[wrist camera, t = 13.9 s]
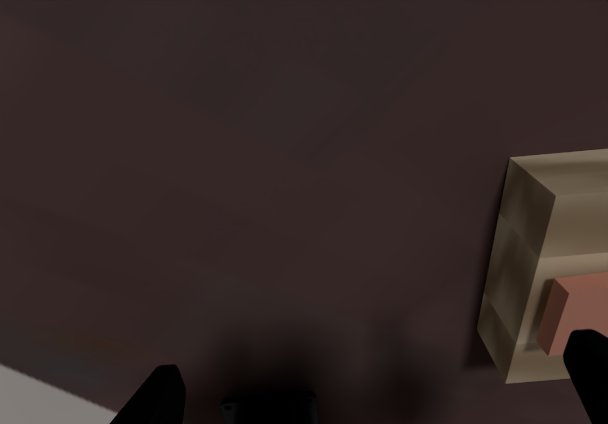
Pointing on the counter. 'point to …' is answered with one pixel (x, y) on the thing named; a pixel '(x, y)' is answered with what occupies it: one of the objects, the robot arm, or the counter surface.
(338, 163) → the counter surface
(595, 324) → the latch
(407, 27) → the counter surface
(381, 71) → the counter surface
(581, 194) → the block
